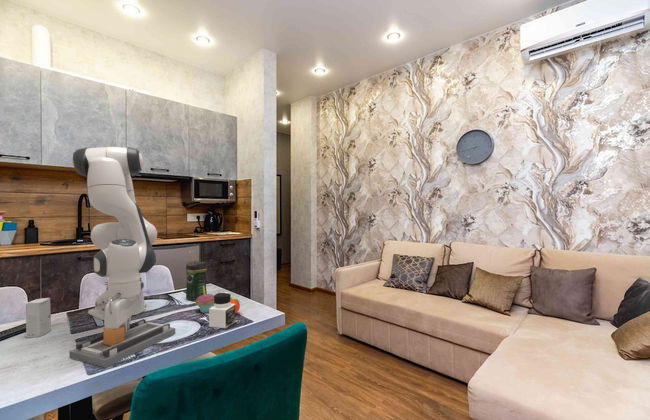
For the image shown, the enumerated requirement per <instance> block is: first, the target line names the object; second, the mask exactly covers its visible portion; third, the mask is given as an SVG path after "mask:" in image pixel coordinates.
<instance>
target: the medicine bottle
mask: <svg viewBox="0 0 650 420" xmlns="http://www.w3.org/2000/svg"><path fill="white" fill-rule="evenodd" d="M213 295H214V306H213V307H211V308H210V309H209V312H208V317H209V319H208V320H209V321H208V324H209V325H208V327H210V328H216V329H217V328H218V329H227V328H228V327H230V326H231V325H233V324H234V323H235V322H236V314H235V304H230V303H231V298H232V296H231V293H230V292H227V291H221V292H218V293H216V294H213Z"/></svg>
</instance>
